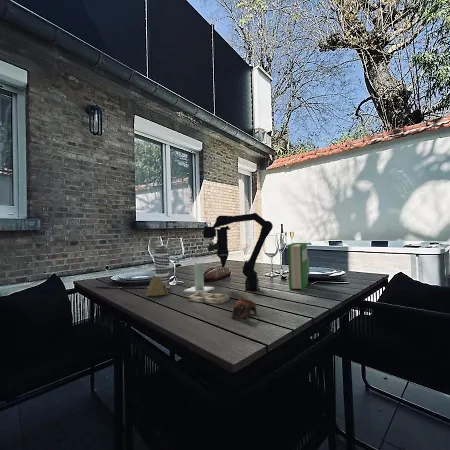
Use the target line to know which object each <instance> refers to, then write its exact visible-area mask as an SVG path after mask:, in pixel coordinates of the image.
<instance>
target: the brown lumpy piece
mask: <svg viewBox="0 0 450 450" xmlns="http://www.w3.org/2000/svg"><path fill="white" fill-rule="evenodd" d="M257 310H258V309H257V303H256V302H253V301H252V300H250V299H247V298H244V297H239V298H238V299H237V301H236V302H234V305H233V309H232V312H231V318H233V319H235V320H238V321H241V320H242V318H243V319H249V316H250V315H251V314H250V313H251V311H252V312H253V315H254V317H255V316H257V312H258V311H257Z"/></svg>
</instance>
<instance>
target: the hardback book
mask: <svg viewBox="0 0 450 450" xmlns="http://www.w3.org/2000/svg"><path fill="white" fill-rule="evenodd" d="M307 244H308V243H307V242H293V243H289V244H288V245H287V255H288V257H287V259H288V261H287V262H288V286H289V287H288V289H290V290H289V291H291V290H293V289H295V290H297V289H298V290H301V291H302V290H304V291H305V289H306V288H305V287H307V286H308V285H309V280H308V272H307V253H308V247H307V246H308V245H307ZM307 284H308V285H307Z"/></svg>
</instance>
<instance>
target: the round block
mask: <svg viewBox="0 0 450 450" xmlns="http://www.w3.org/2000/svg"><path fill="white" fill-rule="evenodd" d="M193 266H194V267H193V269H194V286H195V289H196V290H201V289H204V285H205V283H204V281H205V280H204V279H205V277H204V262H194V264H193Z"/></svg>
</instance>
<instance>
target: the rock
mask: <svg viewBox="0 0 450 450" xmlns="http://www.w3.org/2000/svg"><path fill="white" fill-rule="evenodd" d="M163 295H169V288H168V289H167V288H166V285H165V284H164V283H163V282H162V281H161V280H160V279H159V278H158V277H157V276H155V275H153V276H152V278H151V280H150V282H149V285H148V287H147V291H146V295H145V296H146V297H148V296H149V297H156V296H163Z"/></svg>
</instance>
